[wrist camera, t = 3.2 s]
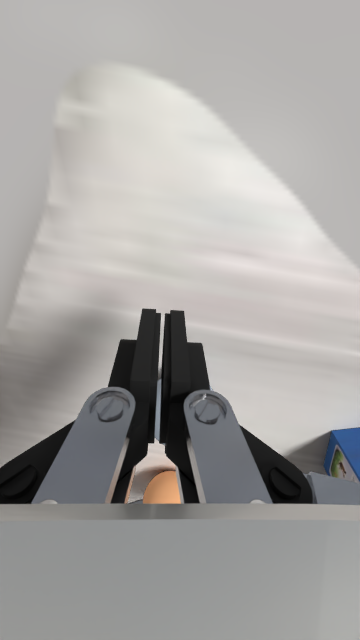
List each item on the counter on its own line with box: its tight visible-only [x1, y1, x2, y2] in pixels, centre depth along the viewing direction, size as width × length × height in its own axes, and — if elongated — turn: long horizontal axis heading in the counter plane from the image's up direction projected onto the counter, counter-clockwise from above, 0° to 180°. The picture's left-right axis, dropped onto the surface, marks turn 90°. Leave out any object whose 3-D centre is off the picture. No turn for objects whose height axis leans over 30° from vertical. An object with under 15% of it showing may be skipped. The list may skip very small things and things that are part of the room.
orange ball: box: [143, 471, 181, 504], centre depth 27 cm, size 6×6×6 cm
